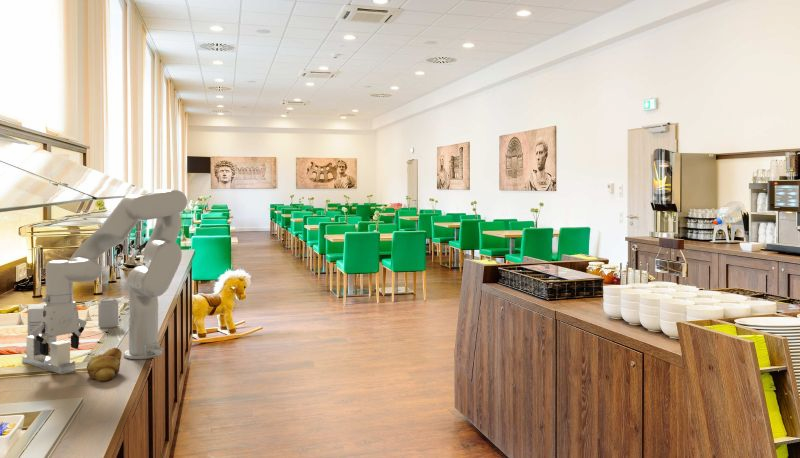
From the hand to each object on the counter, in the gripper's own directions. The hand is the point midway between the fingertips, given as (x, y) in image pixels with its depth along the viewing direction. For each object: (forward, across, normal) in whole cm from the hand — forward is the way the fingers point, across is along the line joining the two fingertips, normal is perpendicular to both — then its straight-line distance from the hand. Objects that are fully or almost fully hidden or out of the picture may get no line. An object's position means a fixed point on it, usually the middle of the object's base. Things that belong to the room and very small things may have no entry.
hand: (59, 351), depth 188 cm
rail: (+6, 0, +6) cm, 9 cm away
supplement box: (+6, +12, +32) cm, 34 cm away
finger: (+4, 0, 0) cm, 4 cm away
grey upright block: (+6, +43, +38) cm, 58 cm away
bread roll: (+6, +4, -17) cm, 18 cm away
